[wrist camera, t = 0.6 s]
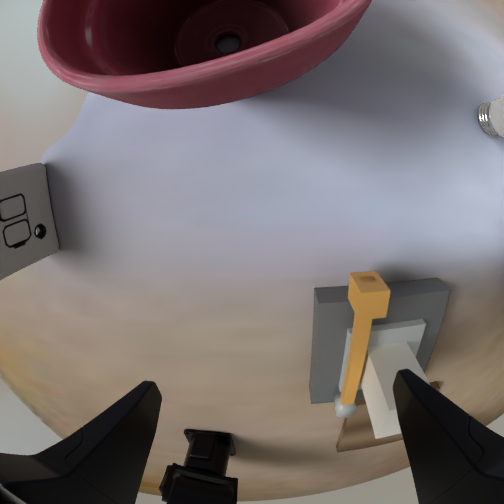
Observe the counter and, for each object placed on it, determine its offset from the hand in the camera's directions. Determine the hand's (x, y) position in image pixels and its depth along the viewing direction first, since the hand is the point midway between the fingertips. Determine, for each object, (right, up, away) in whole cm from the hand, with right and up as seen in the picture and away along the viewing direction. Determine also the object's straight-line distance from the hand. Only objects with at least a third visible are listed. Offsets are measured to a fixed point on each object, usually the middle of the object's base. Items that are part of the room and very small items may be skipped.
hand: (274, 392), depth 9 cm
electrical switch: (-23, +9, +13) cm, 28 cm away
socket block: (+11, -3, +15) cm, 19 cm away
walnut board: (+17, -17, +19) cm, 31 cm away
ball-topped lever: (+8, -3, +12) cm, 15 cm away
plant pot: (-2, +20, +7) cm, 22 cm away
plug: (+11, -3, +15) cm, 19 cm away
